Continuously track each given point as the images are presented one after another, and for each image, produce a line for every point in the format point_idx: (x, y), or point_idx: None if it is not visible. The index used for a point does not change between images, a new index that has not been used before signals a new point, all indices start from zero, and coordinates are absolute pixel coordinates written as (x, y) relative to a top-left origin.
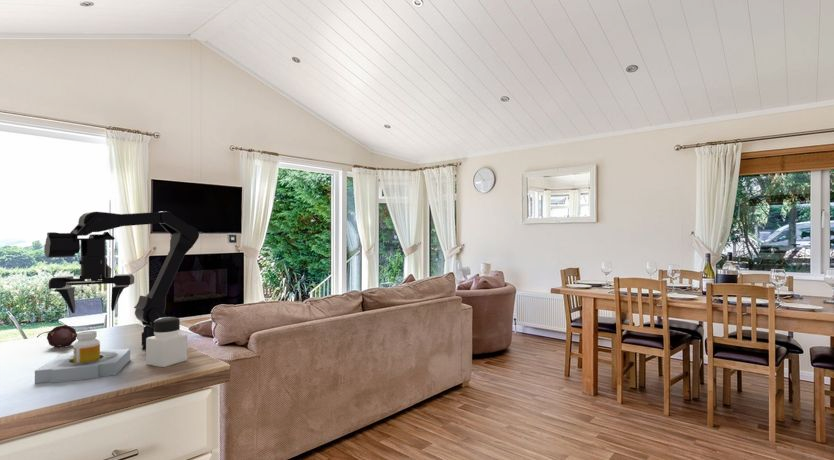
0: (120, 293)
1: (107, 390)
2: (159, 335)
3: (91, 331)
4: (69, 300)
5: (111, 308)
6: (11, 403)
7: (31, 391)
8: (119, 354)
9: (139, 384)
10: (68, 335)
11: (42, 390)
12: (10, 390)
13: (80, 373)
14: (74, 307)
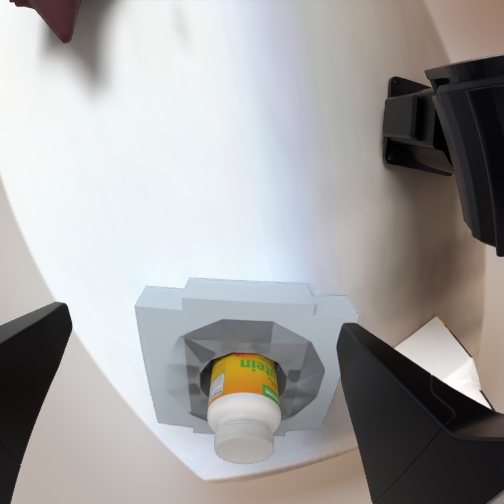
0: (470, 412)
1: (305, 458)
2: None
3: (255, 443)
4: (27, 426)
5: (339, 367)
6: (183, 458)
7: (183, 433)
8: (328, 372)
9: (349, 448)
10: (70, 4)
11: (200, 435)
12: (141, 415)
13: None
14: (50, 341)
